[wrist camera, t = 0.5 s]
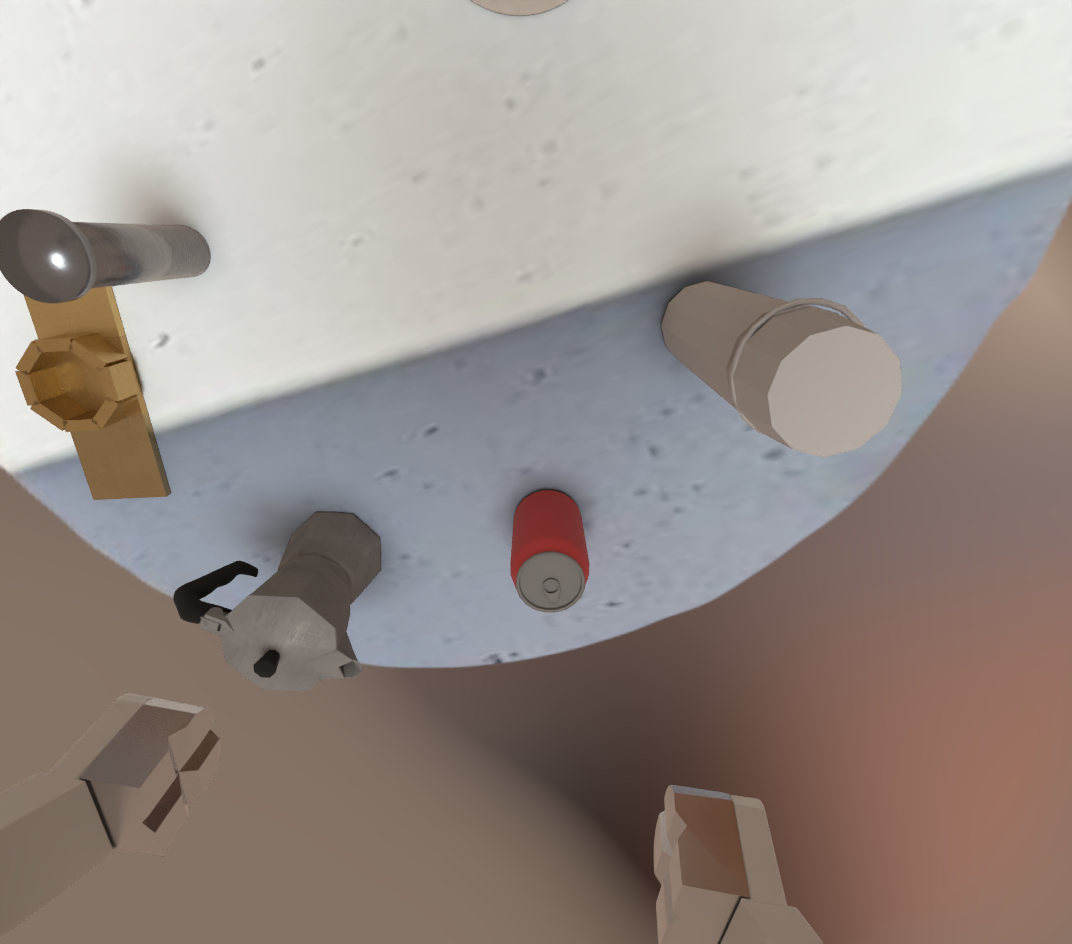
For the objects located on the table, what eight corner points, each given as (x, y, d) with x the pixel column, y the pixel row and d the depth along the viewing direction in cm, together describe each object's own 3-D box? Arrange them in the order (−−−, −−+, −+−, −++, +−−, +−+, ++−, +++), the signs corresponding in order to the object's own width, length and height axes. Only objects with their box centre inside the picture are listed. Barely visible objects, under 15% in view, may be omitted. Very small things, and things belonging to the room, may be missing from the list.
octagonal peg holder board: (8, 241, 50) (-32, 241, 46) (101, 236, 50) (68, 236, 46) (95, 496, 58) (66, 513, 55) (175, 492, 58) (151, 509, 55)
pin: (146, 219, 49) (-22, 211, 35) (209, 216, 49) (68, 206, 34) (163, 285, 51) (11, 305, 36) (224, 282, 51) (97, 301, 36)
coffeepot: (417, 538, 60) (371, 655, 43) (383, 611, 63) (329, 746, 46) (266, 475, 58) (156, 573, 41) (238, 554, 61) (125, 676, 44)
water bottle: (655, 368, 54) (748, 468, 31) (661, 276, 51) (767, 309, 28) (759, 367, 54) (929, 466, 31) (770, 275, 51) (968, 306, 28)
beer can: (520, 552, 61) (516, 623, 50) (508, 492, 58) (502, 553, 47) (585, 543, 60) (596, 612, 49) (576, 482, 58) (586, 541, 47)
